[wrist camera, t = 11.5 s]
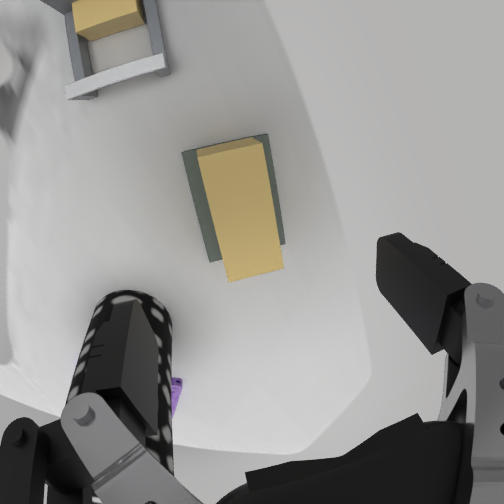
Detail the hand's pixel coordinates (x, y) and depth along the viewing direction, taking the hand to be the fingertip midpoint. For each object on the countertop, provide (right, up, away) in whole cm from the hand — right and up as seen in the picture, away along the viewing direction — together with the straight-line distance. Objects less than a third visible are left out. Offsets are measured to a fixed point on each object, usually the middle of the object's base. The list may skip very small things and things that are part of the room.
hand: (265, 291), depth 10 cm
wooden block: (-2, +6, +17) cm, 18 cm away
